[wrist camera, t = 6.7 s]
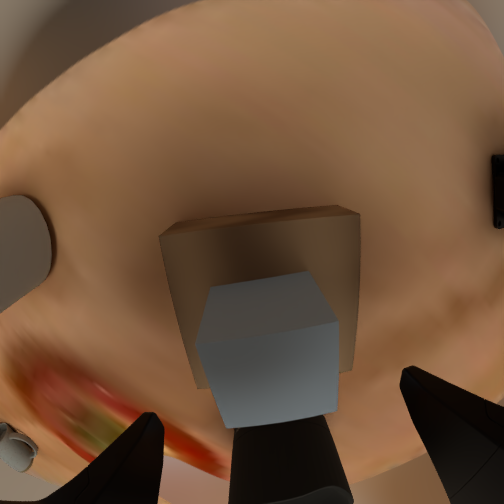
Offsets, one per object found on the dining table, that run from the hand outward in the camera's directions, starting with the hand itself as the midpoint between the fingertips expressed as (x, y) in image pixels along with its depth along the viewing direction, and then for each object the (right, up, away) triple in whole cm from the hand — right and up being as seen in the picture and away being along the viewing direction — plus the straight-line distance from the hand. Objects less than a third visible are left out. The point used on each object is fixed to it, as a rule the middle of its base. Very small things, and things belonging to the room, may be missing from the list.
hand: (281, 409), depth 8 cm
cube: (0, +2, +6) cm, 7 cm away
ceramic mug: (-44, -29, +18) cm, 56 cm away
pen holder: (+2, -11, +14) cm, 18 cm away
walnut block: (0, +3, +10) cm, 11 cm away
